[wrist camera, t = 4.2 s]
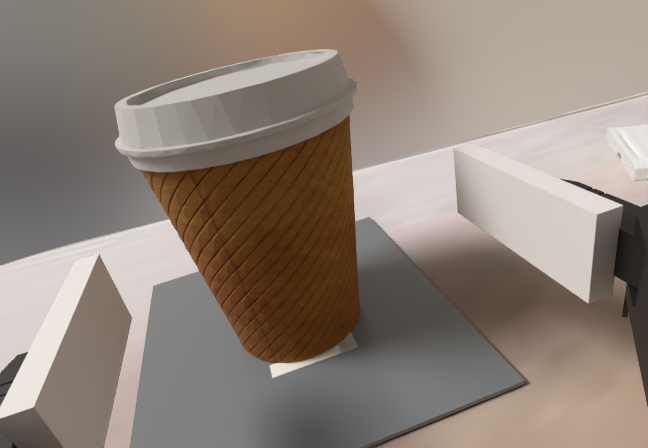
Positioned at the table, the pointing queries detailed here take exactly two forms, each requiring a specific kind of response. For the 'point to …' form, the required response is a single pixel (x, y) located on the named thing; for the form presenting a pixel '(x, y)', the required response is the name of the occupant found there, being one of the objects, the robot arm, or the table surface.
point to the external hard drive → (631, 149)
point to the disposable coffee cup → (259, 192)
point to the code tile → (314, 367)
